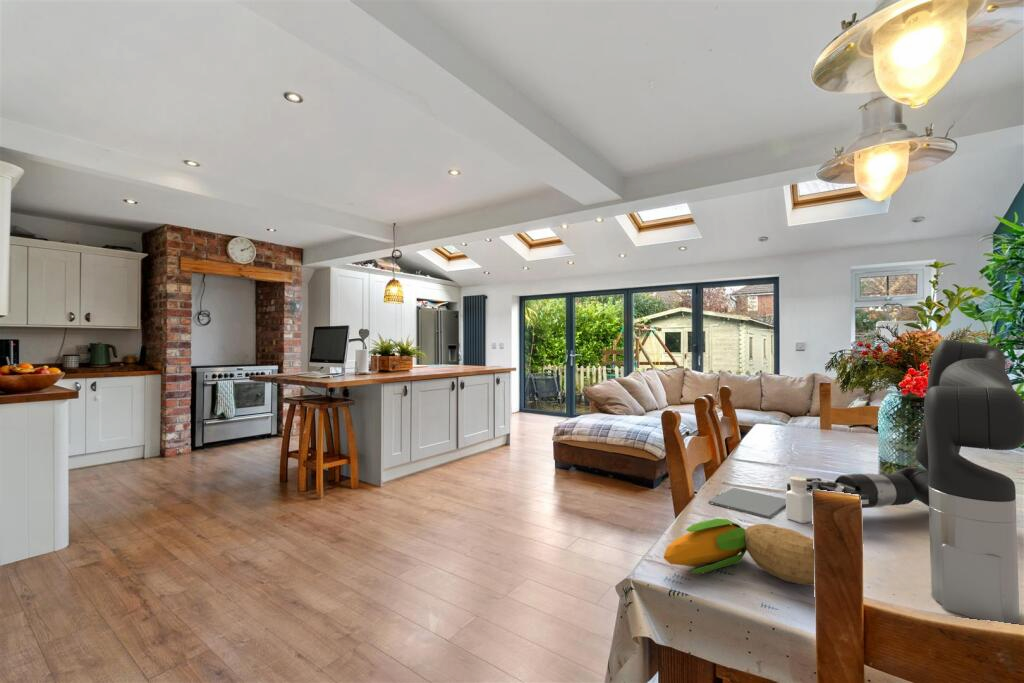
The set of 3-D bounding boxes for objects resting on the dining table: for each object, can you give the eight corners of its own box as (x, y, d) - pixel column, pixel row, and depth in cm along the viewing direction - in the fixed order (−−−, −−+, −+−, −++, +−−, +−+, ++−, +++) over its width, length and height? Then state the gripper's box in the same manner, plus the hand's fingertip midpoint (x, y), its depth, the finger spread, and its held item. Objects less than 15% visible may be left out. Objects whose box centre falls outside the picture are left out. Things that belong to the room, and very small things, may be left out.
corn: (759, 519, 81) (682, 540, 72) (763, 562, 81) (685, 589, 72) (724, 509, 88) (649, 527, 79) (727, 548, 87) (652, 572, 78)
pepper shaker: (813, 521, 100) (813, 479, 100) (801, 524, 98) (800, 481, 98) (796, 515, 103) (795, 475, 104) (784, 518, 102) (784, 477, 102)
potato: (765, 554, 84) (764, 512, 84) (847, 591, 71) (845, 541, 71) (729, 565, 80) (728, 520, 80) (808, 605, 67) (807, 552, 67)
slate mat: (769, 518, 102) (769, 515, 102) (708, 503, 112) (708, 500, 112) (790, 502, 112) (790, 499, 113) (733, 489, 123) (733, 487, 123)
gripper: (838, 466, 110) (779, 469, 108) (894, 483, 96) (827, 486, 94) (839, 496, 110) (779, 499, 108) (895, 518, 96) (828, 521, 94)
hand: (802, 493), depth 101 cm, fingers open, 8 cm apart
